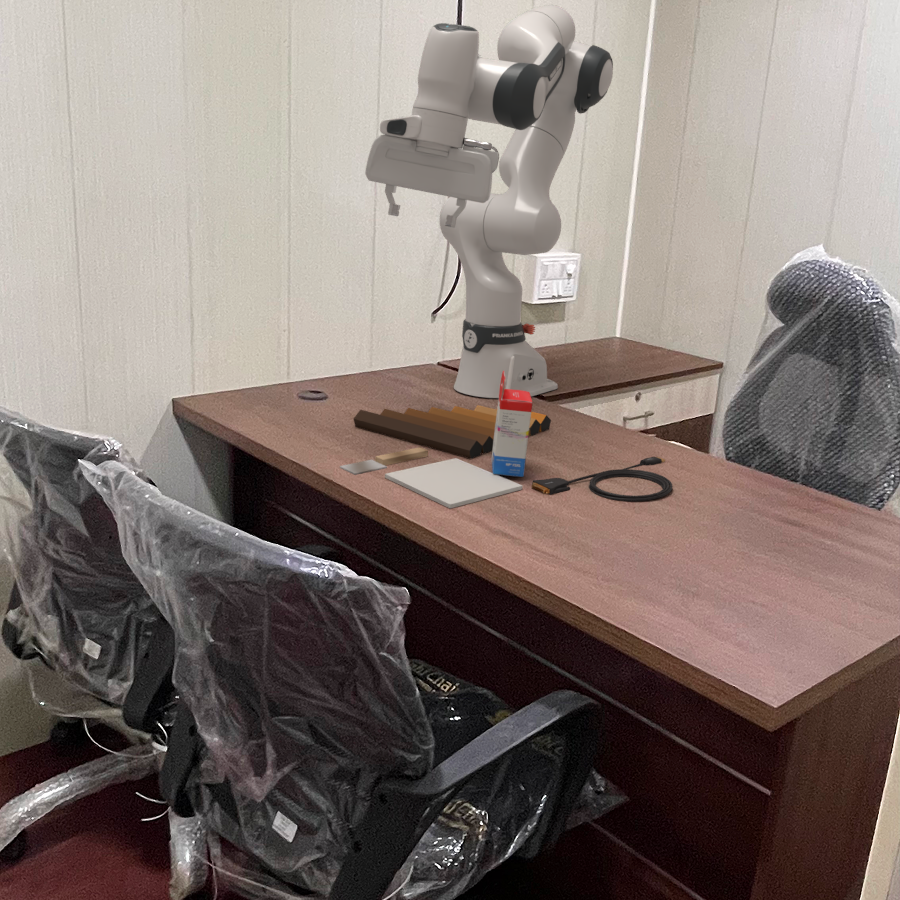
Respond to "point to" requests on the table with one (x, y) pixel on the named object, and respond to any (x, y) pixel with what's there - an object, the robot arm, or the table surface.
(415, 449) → the turner
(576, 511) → the table surface
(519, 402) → the ink box
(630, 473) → the cable
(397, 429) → the pan flute
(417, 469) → the mat
